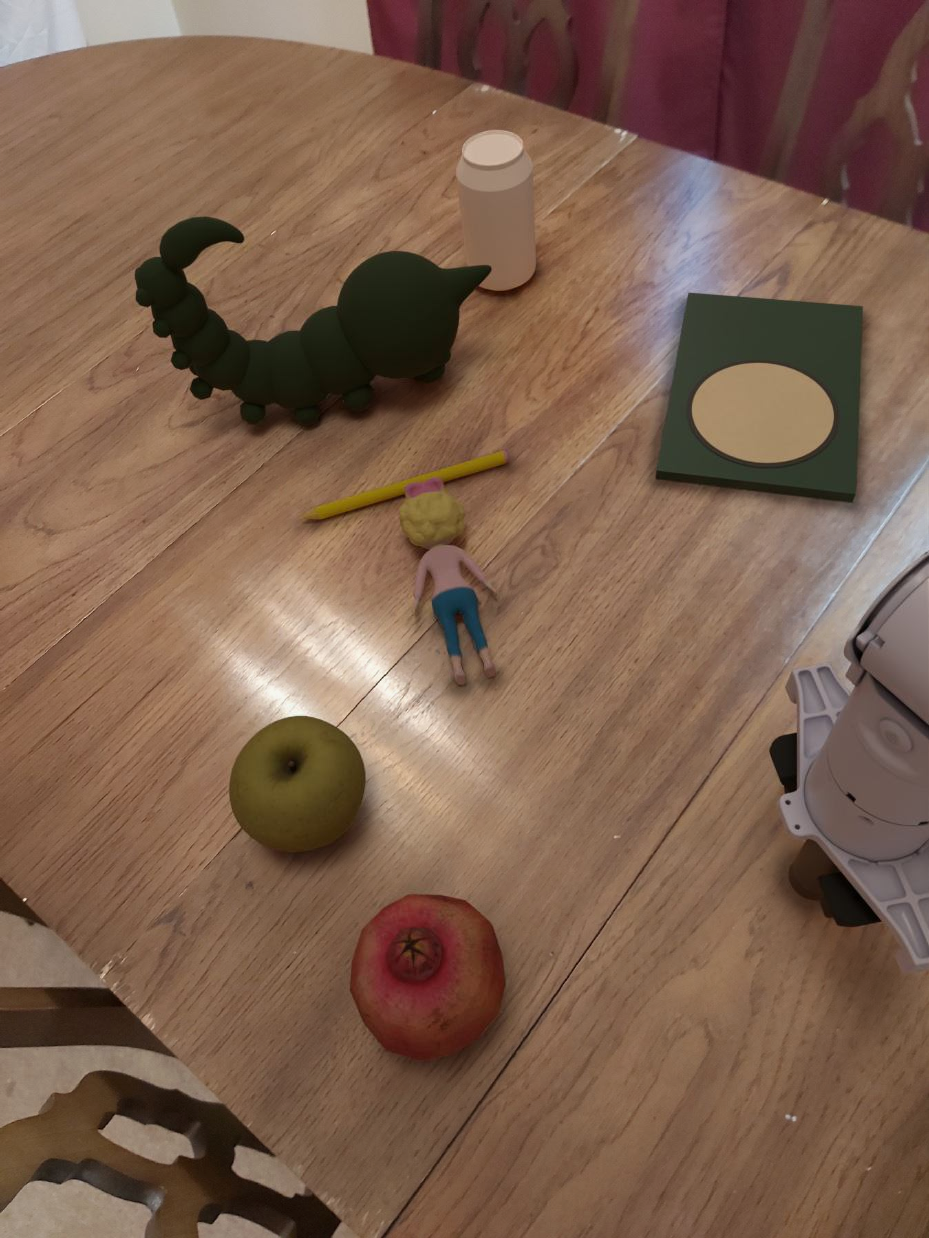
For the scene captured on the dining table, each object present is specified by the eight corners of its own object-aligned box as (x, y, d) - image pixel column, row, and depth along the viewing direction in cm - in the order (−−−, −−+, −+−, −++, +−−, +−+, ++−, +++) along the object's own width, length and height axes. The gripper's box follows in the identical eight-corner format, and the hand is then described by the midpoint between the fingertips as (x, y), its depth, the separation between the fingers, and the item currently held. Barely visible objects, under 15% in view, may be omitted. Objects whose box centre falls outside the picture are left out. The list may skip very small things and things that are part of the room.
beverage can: (547, 285, 82) (544, 156, 72) (482, 306, 82) (469, 179, 72) (521, 245, 86) (514, 117, 76) (458, 265, 85) (443, 138, 75)
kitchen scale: (687, 301, 79) (688, 291, 78) (859, 316, 77) (863, 304, 76) (655, 479, 69) (656, 469, 68) (852, 503, 67) (856, 492, 66)
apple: (399, 821, 57) (379, 776, 51) (284, 895, 55) (250, 857, 49) (340, 730, 61) (315, 677, 55) (231, 796, 59) (193, 750, 53)
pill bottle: (826, 850, 54) (873, 784, 45) (844, 896, 52) (896, 837, 44) (780, 859, 54) (819, 795, 45) (797, 905, 52) (840, 847, 44)
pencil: (504, 456, 72) (504, 447, 71) (509, 465, 71) (508, 456, 71) (298, 518, 71) (295, 509, 70) (301, 527, 70) (298, 519, 69)
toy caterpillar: (227, 476, 76) (521, 388, 75) (110, 289, 60) (481, 174, 59) (219, 397, 81) (494, 314, 80) (109, 205, 65) (451, 98, 64)
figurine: (520, 676, 63) (466, 502, 70) (518, 646, 59) (461, 465, 66) (434, 698, 62) (389, 521, 70) (426, 669, 58) (380, 485, 66)
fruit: (350, 1056, 50) (307, 1025, 42) (382, 906, 54) (348, 851, 46) (498, 1082, 49) (483, 1056, 40) (519, 927, 53) (510, 874, 45)
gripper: (747, 635, 43) (709, 755, 54) (874, 955, 35) (799, 1017, 46) (896, 605, 43) (827, 731, 54) (1056, 919, 35) (937, 989, 47)
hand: (823, 861), depth 50 cm, fingers open, 4 cm apart
